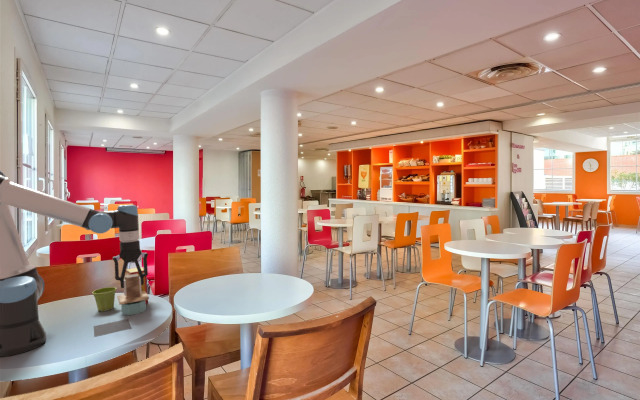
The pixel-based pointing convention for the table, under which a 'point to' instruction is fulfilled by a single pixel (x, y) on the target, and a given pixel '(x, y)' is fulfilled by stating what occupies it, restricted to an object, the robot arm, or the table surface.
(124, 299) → the lid
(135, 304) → the bowl
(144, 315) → the table surface
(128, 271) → the baking soda box
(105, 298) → the plant pot
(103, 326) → the mat
